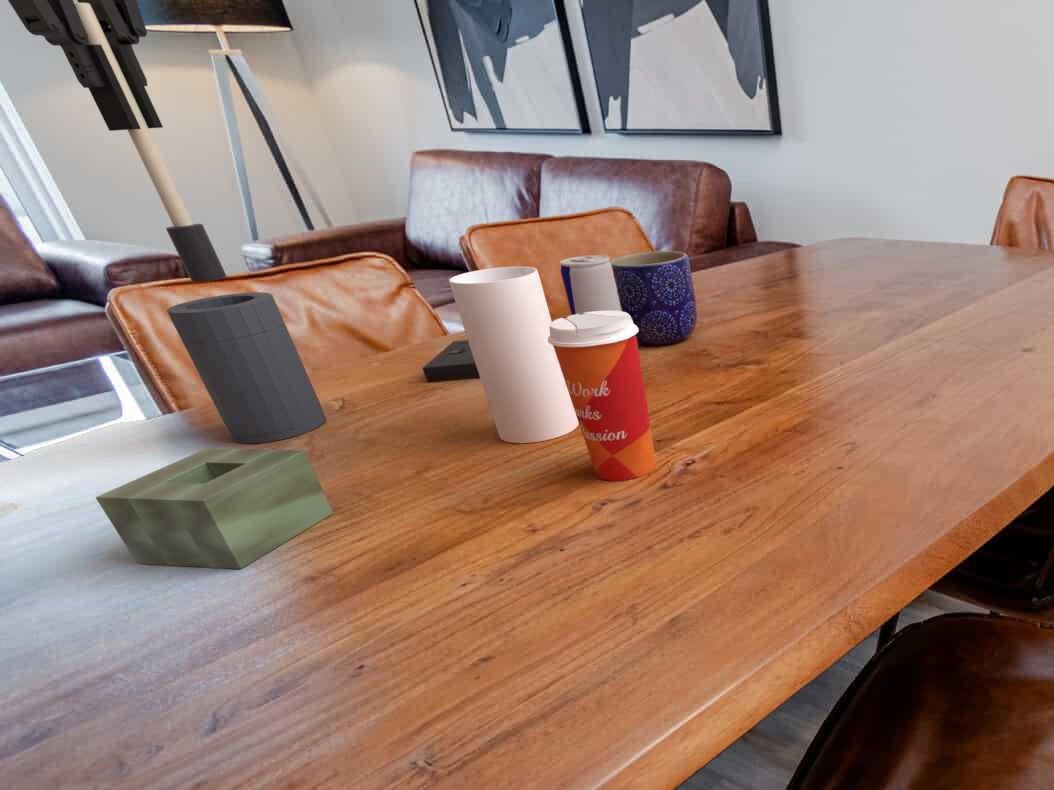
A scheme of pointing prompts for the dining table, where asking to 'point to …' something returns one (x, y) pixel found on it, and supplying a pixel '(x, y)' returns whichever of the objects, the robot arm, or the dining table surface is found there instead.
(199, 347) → the dark gray cylindrical container
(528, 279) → the cup
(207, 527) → the holder
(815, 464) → the dining table surface
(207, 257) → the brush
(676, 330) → the planter
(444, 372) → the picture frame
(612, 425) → the paper cup
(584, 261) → the beverage can
